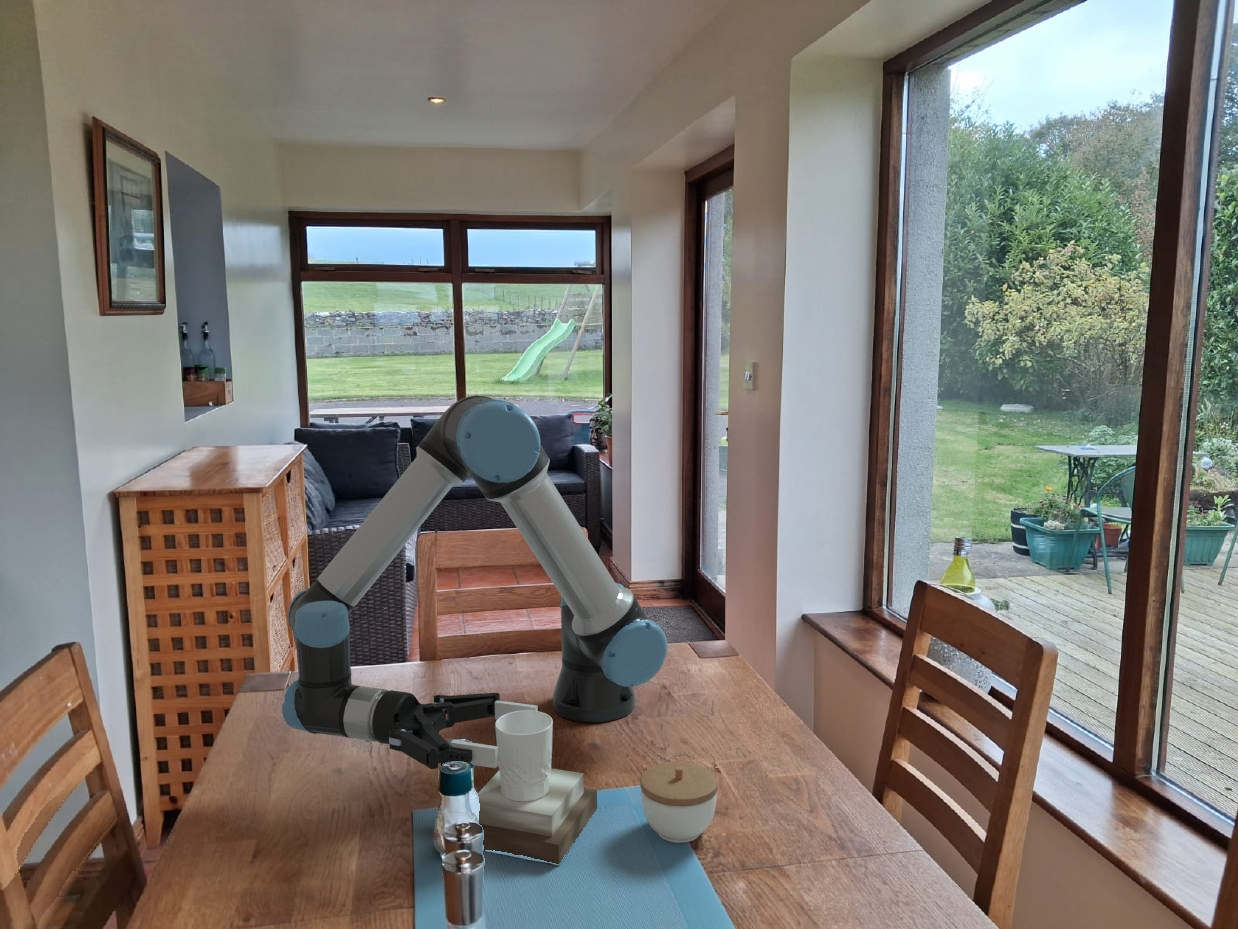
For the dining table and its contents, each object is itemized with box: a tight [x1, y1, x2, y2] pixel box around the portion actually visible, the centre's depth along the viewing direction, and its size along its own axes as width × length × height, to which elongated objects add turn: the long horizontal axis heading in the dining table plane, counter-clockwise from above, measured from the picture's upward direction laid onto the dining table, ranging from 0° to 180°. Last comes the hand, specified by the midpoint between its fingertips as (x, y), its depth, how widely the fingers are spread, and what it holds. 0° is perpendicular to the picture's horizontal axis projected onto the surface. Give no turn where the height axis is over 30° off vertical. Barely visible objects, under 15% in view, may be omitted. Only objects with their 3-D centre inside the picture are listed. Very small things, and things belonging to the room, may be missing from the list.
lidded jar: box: [639, 761, 719, 844], centre depth 128 cm, size 11×11×9 cm
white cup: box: [494, 710, 554, 802], centre depth 127 cm, size 8×8×10 cm
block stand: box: [477, 767, 598, 864], centre depth 129 cm, size 15×15×6 cm
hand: (518, 735), depth 128 cm, fingers open, 13 cm apart
